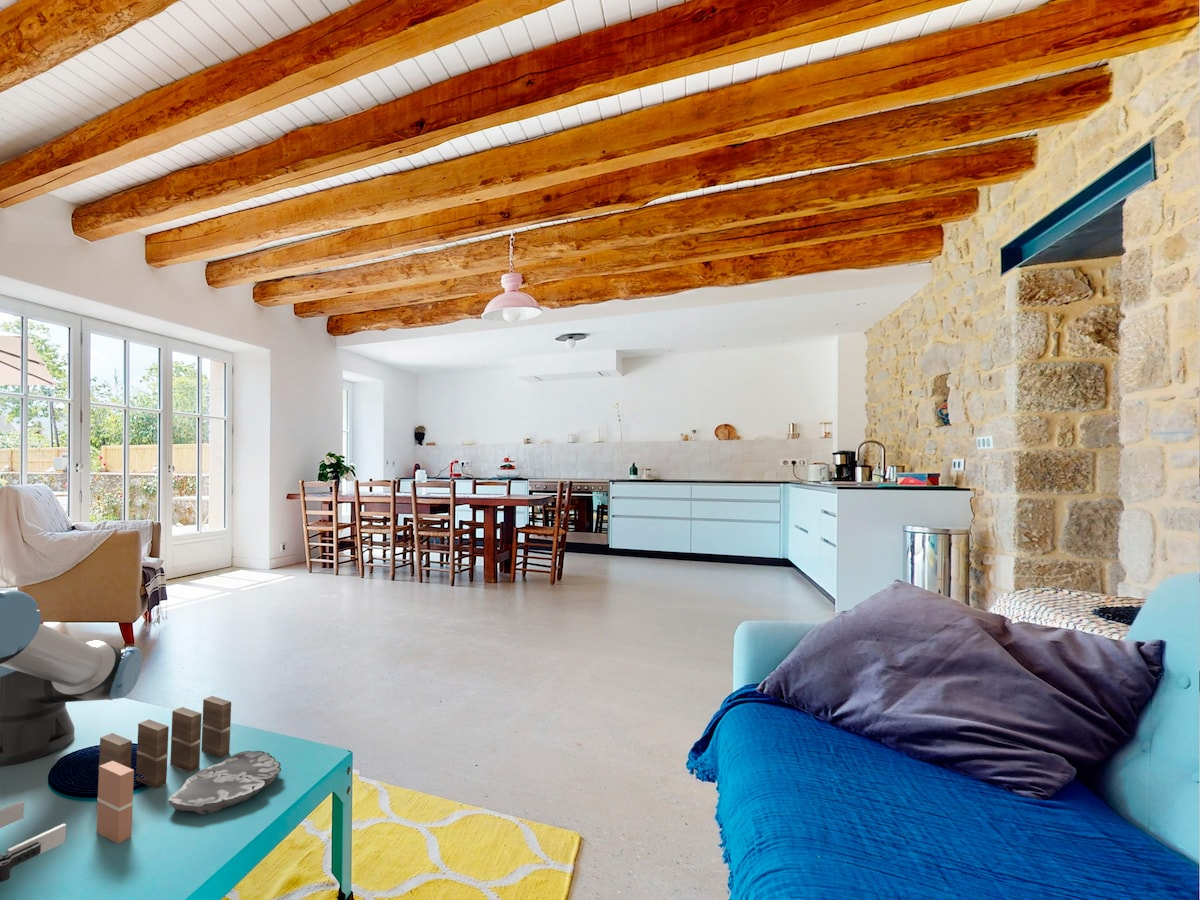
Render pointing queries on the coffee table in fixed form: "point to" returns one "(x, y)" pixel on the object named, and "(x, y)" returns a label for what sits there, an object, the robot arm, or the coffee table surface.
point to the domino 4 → (185, 739)
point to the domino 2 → (115, 801)
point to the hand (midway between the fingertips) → (43, 820)
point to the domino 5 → (216, 726)
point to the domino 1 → (115, 750)
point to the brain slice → (226, 782)
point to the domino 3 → (152, 753)
